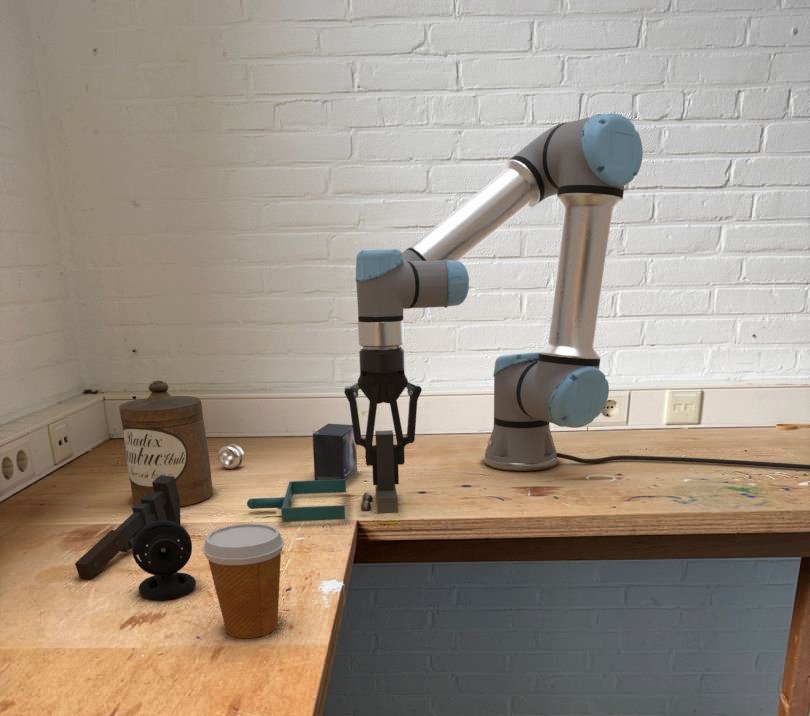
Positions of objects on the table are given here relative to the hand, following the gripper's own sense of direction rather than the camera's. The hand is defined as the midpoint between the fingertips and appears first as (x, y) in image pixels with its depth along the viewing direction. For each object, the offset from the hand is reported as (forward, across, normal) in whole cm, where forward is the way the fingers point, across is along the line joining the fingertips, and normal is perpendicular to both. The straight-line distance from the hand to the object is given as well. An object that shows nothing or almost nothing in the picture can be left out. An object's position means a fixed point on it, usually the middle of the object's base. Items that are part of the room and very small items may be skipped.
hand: (385, 482), depth 141 cm
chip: (+4, +3, -2) cm, 6 cm away
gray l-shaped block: (+4, 0, 0) cm, 4 cm away
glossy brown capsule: (+4, +4, +2) cm, 6 cm away
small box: (+5, +9, -20) cm, 23 cm away
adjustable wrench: (+5, +40, +17) cm, 44 cm away
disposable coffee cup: (+5, +18, +47) cm, 51 cm away
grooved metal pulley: (+5, +32, -33) cm, 47 cm away
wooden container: (+5, +40, -12) cm, 42 cm away
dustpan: (+5, +16, 0) cm, 17 cm away
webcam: (+5, +31, +34) cm, 46 cm away
